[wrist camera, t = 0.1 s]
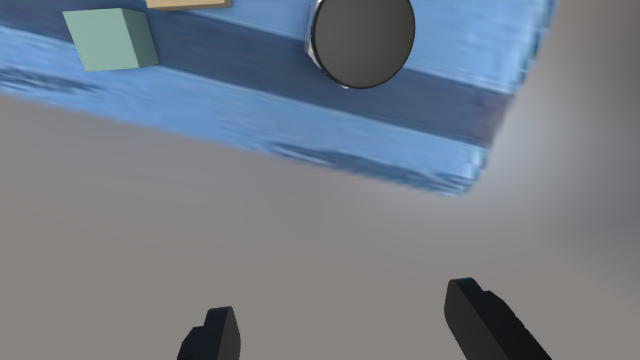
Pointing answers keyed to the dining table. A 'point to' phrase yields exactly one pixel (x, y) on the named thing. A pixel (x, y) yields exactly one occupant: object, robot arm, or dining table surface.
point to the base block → (186, 4)
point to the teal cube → (112, 39)
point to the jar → (360, 39)
